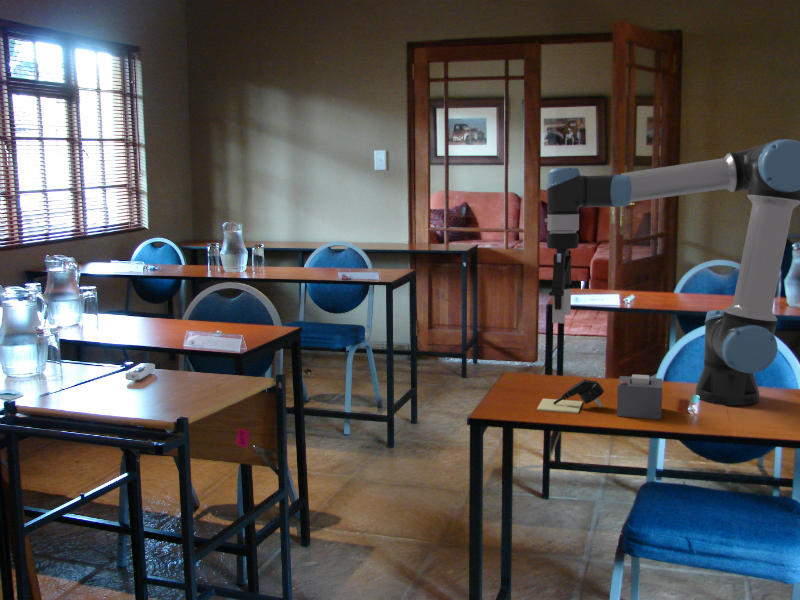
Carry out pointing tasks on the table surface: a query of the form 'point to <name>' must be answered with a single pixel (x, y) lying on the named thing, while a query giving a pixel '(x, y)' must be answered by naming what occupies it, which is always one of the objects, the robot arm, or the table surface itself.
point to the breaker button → (640, 379)
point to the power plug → (584, 392)
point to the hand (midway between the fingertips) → (561, 318)
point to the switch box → (639, 398)
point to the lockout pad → (560, 406)
